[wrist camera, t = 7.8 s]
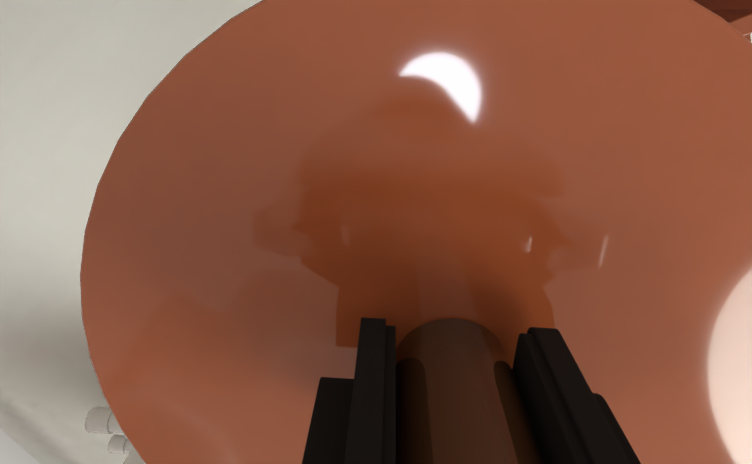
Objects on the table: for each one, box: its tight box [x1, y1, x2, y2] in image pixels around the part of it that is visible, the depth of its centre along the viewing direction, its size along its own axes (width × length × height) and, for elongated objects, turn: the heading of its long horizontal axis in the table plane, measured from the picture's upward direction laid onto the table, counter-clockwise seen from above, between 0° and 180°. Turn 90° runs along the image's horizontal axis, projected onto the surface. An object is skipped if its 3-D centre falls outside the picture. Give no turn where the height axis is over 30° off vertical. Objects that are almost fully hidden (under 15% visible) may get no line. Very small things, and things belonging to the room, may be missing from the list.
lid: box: [80, 0, 752, 464], centre depth 9 cm, size 17×17×6 cm
